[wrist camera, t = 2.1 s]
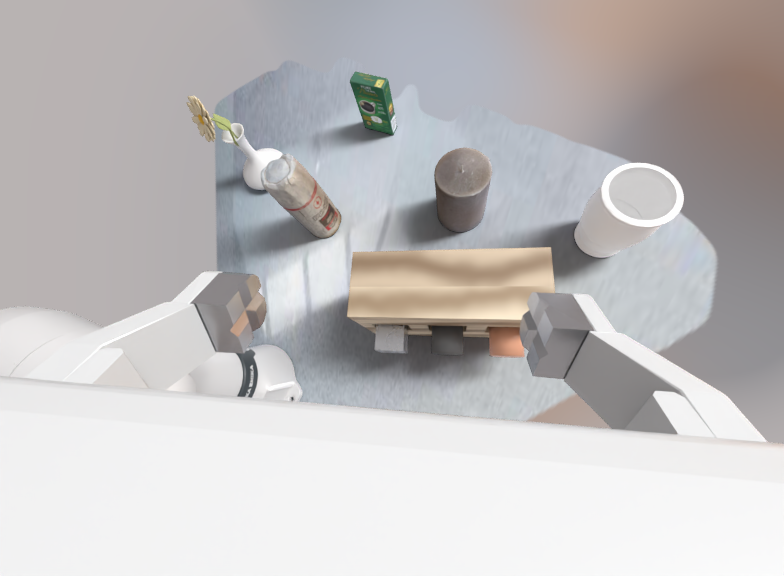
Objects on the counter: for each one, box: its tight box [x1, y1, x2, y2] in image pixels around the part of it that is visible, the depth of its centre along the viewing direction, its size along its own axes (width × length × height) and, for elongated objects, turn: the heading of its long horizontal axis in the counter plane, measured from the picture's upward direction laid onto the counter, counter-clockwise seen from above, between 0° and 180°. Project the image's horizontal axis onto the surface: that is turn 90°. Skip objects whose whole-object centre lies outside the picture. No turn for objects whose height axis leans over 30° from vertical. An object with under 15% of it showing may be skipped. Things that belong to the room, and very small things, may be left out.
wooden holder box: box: [347, 247, 555, 337], centre depth 53 cm, size 10×28×18 cm, turn 87°
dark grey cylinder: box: [431, 325, 463, 355], centre depth 51 cm, size 5×5×5 cm
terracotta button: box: [489, 327, 524, 358], centre depth 50 cm, size 5×5×5 cm
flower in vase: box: [187, 96, 283, 190], centre depth 67 cm, size 13×11×25 cm
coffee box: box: [350, 72, 397, 135], centre depth 71 cm, size 8×3×13 cm, turn 64°
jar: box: [574, 163, 684, 258], centre depth 53 cm, size 11×10×15 cm
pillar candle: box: [434, 148, 492, 232], centre depth 60 cm, size 10×10×15 cm
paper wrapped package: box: [261, 154, 341, 238], centre depth 63 cm, size 8×8×20 cm
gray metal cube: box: [375, 324, 408, 353], centre depth 53 cm, size 5×5×5 cm
